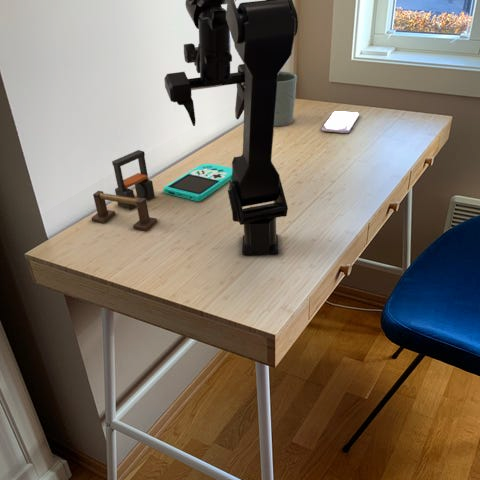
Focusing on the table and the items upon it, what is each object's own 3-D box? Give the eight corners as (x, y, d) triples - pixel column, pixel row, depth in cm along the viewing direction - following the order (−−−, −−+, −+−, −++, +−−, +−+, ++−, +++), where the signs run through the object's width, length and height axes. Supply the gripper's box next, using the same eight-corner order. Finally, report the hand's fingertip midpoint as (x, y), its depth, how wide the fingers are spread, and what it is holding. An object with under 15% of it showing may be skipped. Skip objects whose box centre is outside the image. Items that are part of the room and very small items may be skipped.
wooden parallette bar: (157, 221, 105) (153, 196, 102) (146, 231, 102) (142, 205, 99) (103, 212, 110) (97, 187, 106) (92, 221, 107) (85, 196, 103)
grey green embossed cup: (277, 113, 154) (277, 69, 147) (303, 120, 148) (304, 74, 141) (252, 122, 149) (251, 77, 142) (278, 130, 143) (278, 83, 136)
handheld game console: (240, 174, 121) (240, 168, 121) (200, 202, 111) (199, 196, 110) (204, 166, 126) (204, 161, 125) (162, 193, 116) (161, 187, 115)
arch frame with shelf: (130, 210, 110) (121, 164, 104) (118, 205, 112) (108, 160, 106) (155, 197, 114) (147, 152, 108) (142, 193, 116) (135, 148, 110)
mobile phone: (360, 112, 148) (349, 130, 137) (359, 115, 149) (348, 133, 138) (333, 110, 151) (320, 127, 140) (333, 113, 151) (320, 131, 140)
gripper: (250, 18, 102) (247, 94, 114) (155, 29, 98) (162, 106, 111) (269, 46, 96) (263, 123, 108) (168, 58, 92) (174, 137, 104)
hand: (215, 121), depth 108 cm, fingers open, 9 cm apart
